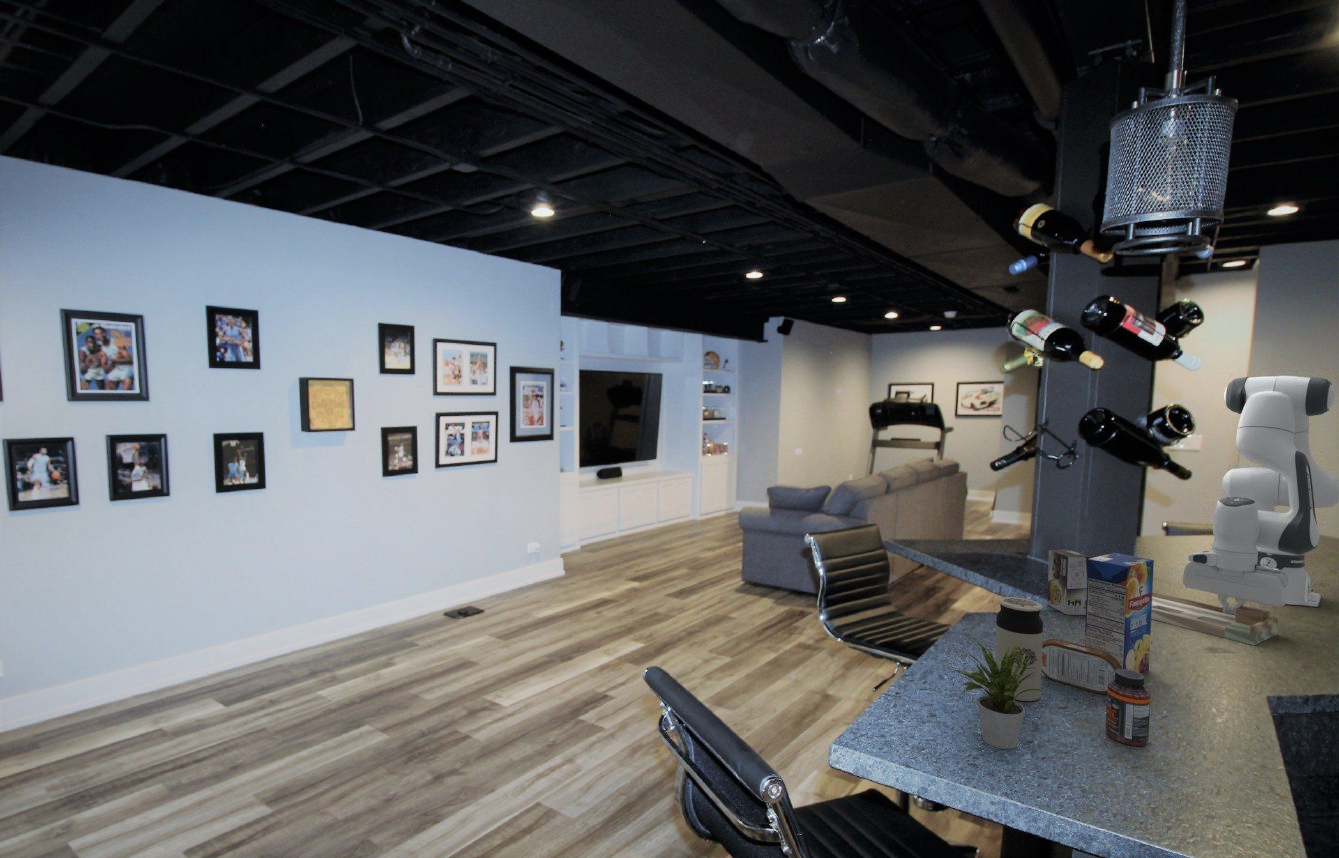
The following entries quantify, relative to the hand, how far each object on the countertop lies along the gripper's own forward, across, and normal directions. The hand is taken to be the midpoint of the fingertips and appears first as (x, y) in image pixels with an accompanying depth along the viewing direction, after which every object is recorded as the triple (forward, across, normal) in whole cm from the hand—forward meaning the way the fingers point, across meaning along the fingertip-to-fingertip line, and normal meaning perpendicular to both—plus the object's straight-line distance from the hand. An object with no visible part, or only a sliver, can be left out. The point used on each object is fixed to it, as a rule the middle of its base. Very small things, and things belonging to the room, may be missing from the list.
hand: (1231, 613), depth 161 cm
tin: (+4, +1, +72) cm, 72 cm away
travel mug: (+4, +5, +86) cm, 86 cm away
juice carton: (+4, +1, +56) cm, 56 cm away
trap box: (+4, +7, +3) cm, 8 cm away
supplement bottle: (+4, -14, +86) cm, 87 cm away
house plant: (+4, -3, +105) cm, 105 cm away
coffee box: (+4, +28, +23) cm, 37 cm away
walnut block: (+1, -4, 0) cm, 4 cm away
